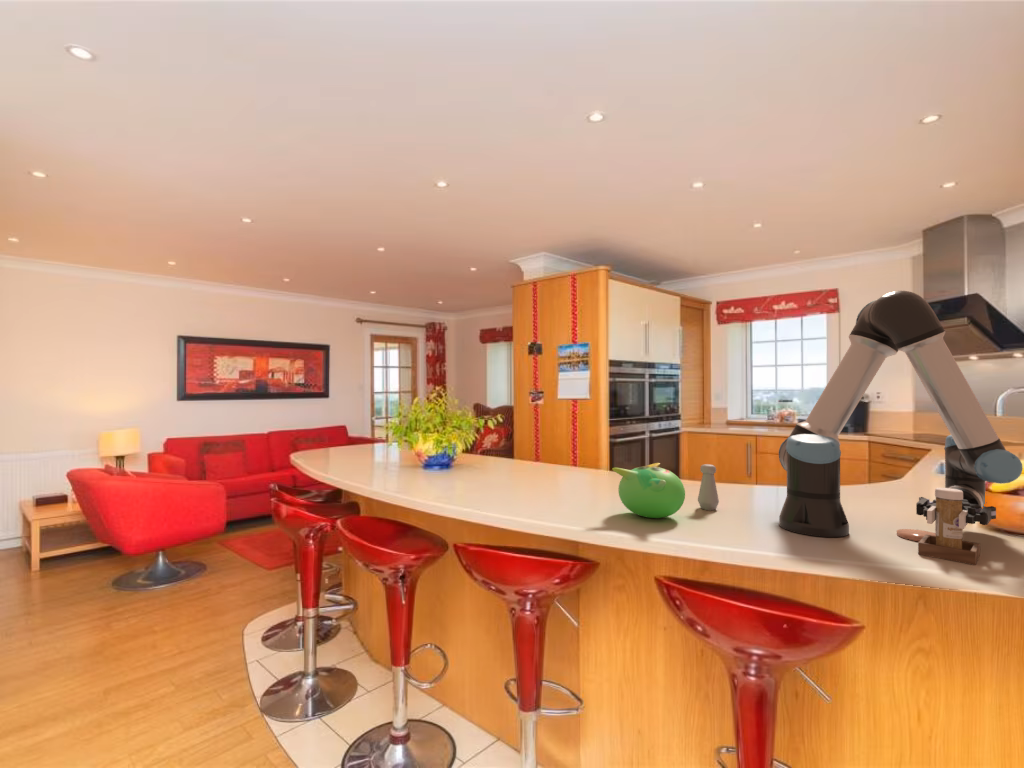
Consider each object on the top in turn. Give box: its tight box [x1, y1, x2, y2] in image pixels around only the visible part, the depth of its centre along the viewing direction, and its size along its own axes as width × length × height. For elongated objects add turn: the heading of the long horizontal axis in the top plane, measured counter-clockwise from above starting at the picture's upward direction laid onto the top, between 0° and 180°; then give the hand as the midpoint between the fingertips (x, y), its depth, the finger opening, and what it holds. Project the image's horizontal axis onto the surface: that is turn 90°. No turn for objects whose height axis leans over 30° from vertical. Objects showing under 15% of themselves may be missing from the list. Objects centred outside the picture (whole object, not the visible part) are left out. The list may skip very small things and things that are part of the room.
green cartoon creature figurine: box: [611, 462, 686, 519], centre depth 138 cm, size 18×17×15 cm
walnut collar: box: [917, 535, 981, 566], centre depth 107 cm, size 9×9×2 cm
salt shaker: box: [697, 463, 720, 511], centre depth 149 cm, size 6×6×13 cm
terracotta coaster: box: [896, 528, 936, 543], centre depth 120 cm, size 9×9×1 cm
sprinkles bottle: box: [934, 487, 964, 549], centre depth 107 cm, size 5×5×14 cm
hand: (945, 519), depth 103 cm, fingers closed on sprinkles bottle, 4 cm apart
